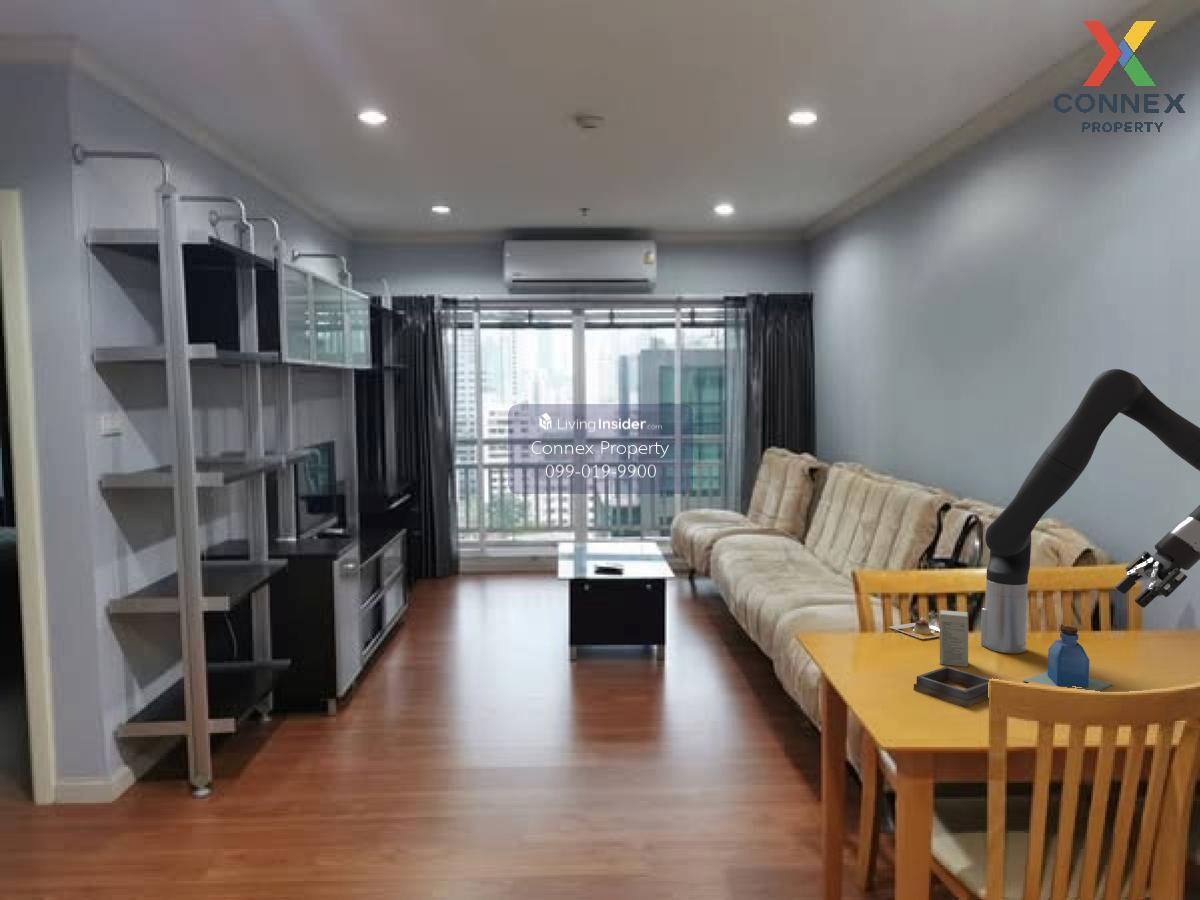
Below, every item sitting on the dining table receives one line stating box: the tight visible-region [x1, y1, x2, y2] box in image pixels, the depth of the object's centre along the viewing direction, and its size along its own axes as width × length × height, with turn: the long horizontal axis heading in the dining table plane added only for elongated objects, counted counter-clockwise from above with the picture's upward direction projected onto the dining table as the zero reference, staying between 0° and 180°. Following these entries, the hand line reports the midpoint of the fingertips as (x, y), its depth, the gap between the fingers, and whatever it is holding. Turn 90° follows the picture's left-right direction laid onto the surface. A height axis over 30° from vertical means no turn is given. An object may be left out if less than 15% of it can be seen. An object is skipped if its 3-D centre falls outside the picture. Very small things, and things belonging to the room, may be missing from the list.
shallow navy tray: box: [913, 665, 990, 708], centre depth 168 cm, size 12×12×3 cm
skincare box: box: [939, 609, 969, 668], centre depth 187 cm, size 6×4×12 cm
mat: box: [1022, 670, 1112, 692], centre depth 173 cm, size 12×14×1 cm
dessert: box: [889, 616, 940, 640], centre depth 212 cm, size 12×12×5 cm
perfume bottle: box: [1047, 625, 1090, 688], centre depth 173 cm, size 6×6×12 cm
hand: (1128, 597), depth 170 cm, fingers open, 8 cm apart
